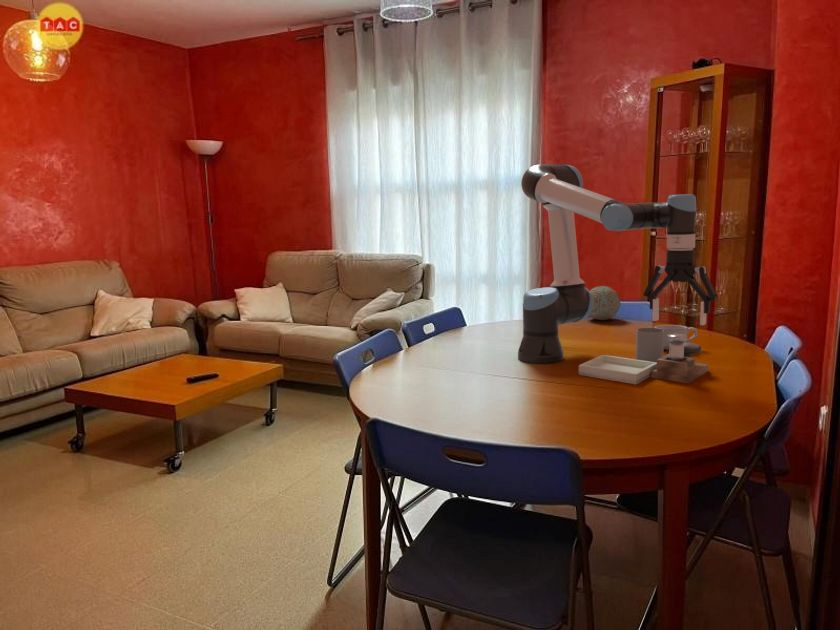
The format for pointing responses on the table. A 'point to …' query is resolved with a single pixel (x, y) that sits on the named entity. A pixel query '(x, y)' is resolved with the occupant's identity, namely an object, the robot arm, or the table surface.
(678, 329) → the teacup
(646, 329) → the cup
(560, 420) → the table surface
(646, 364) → the tray
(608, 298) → the decorative sphere
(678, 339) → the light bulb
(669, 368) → the block
